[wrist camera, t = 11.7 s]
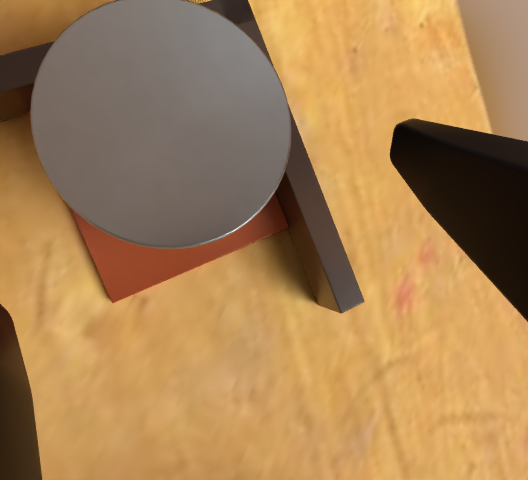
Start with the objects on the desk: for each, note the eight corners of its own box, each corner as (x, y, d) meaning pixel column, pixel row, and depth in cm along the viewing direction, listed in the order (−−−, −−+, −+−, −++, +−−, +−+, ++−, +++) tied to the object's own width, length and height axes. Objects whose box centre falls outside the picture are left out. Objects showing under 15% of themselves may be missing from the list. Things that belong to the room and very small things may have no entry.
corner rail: (339, 295, 20) (365, 301, 17) (116, 404, 17) (110, 430, 15) (233, 24, 18) (244, -10, 16) (-24, 96, 16) (-57, 69, 13)
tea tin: (245, 227, 18) (318, 213, 10) (115, 264, 17) (75, 281, 8) (210, 102, 18) (256, -20, 10) (74, 128, 16) (-8, 11, 8)
